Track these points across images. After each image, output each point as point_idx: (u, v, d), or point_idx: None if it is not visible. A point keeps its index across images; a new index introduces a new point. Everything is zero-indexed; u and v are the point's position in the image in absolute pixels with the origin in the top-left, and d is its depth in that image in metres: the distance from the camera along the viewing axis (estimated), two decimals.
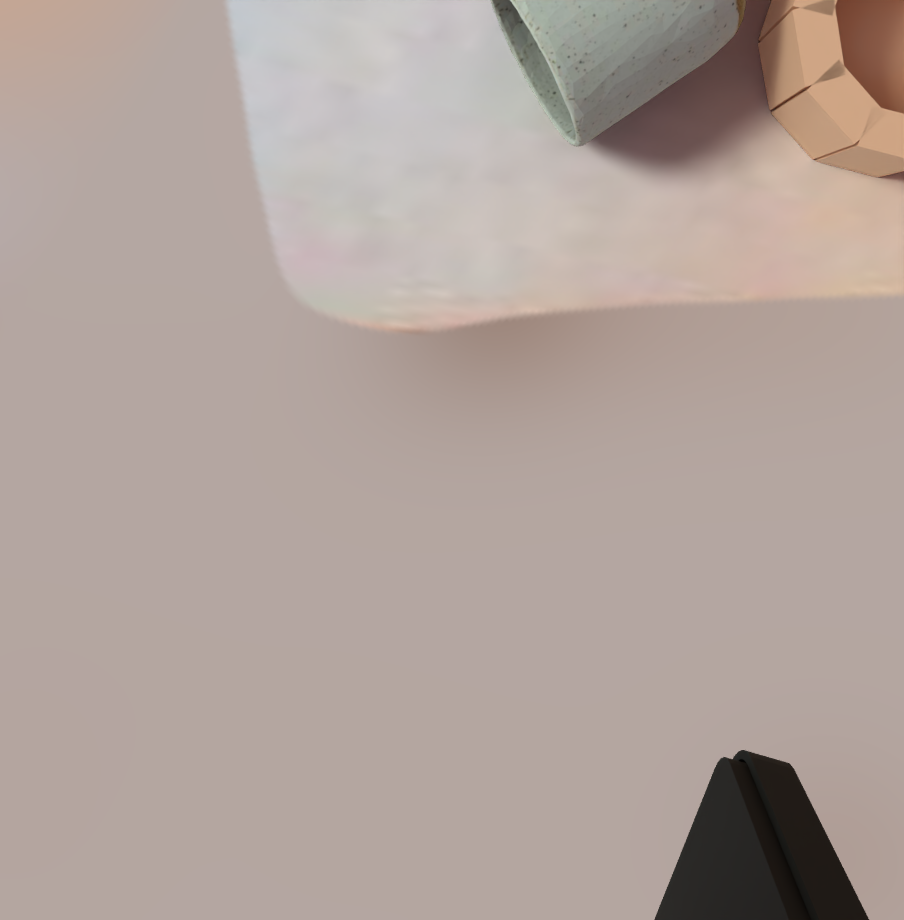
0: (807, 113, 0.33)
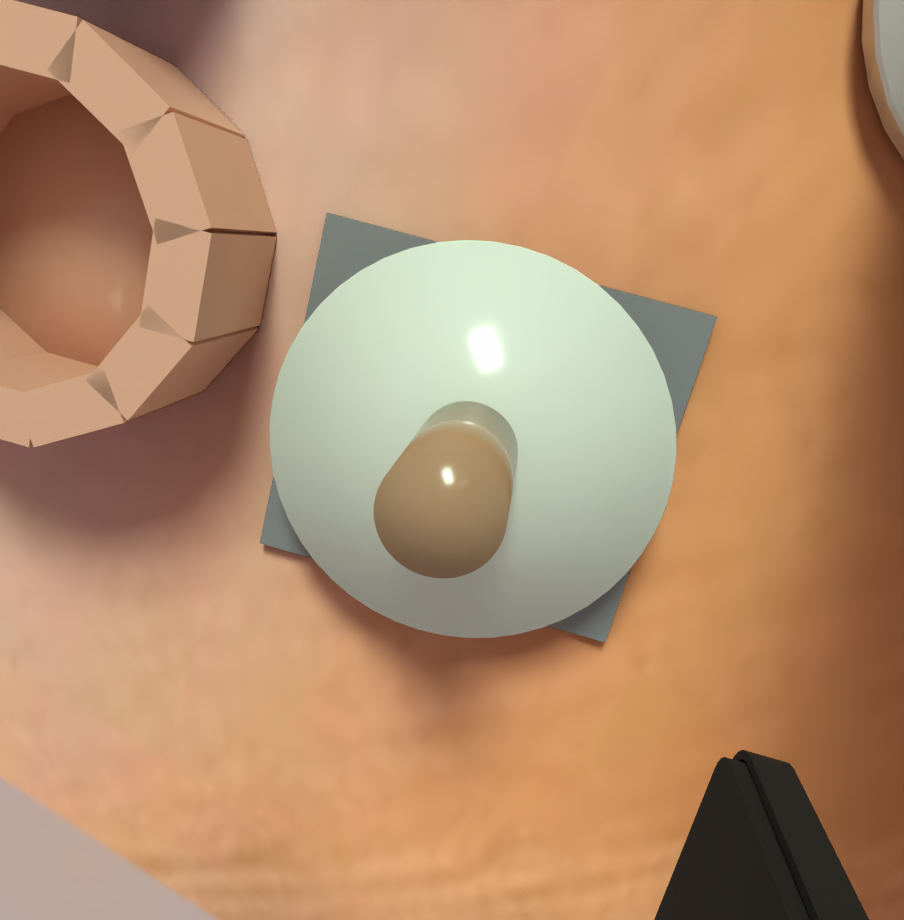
0: None
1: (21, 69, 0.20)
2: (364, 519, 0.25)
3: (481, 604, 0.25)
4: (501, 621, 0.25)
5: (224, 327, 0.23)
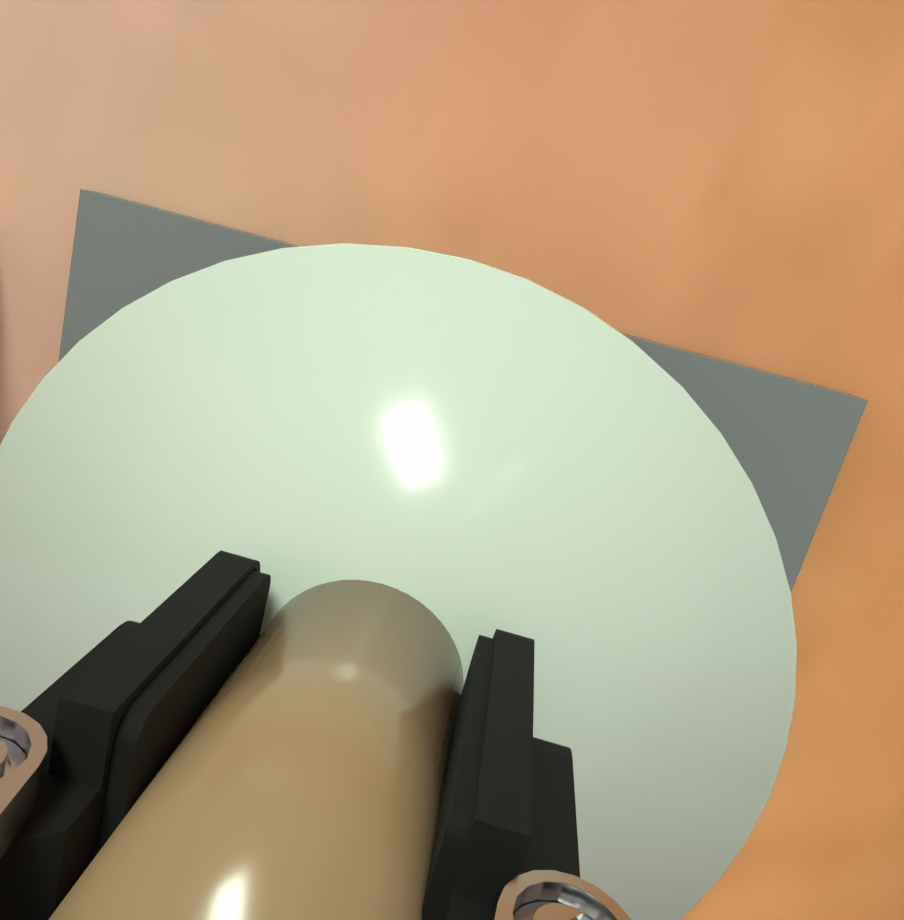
0: None
1: None
2: None
3: None
4: None
5: None
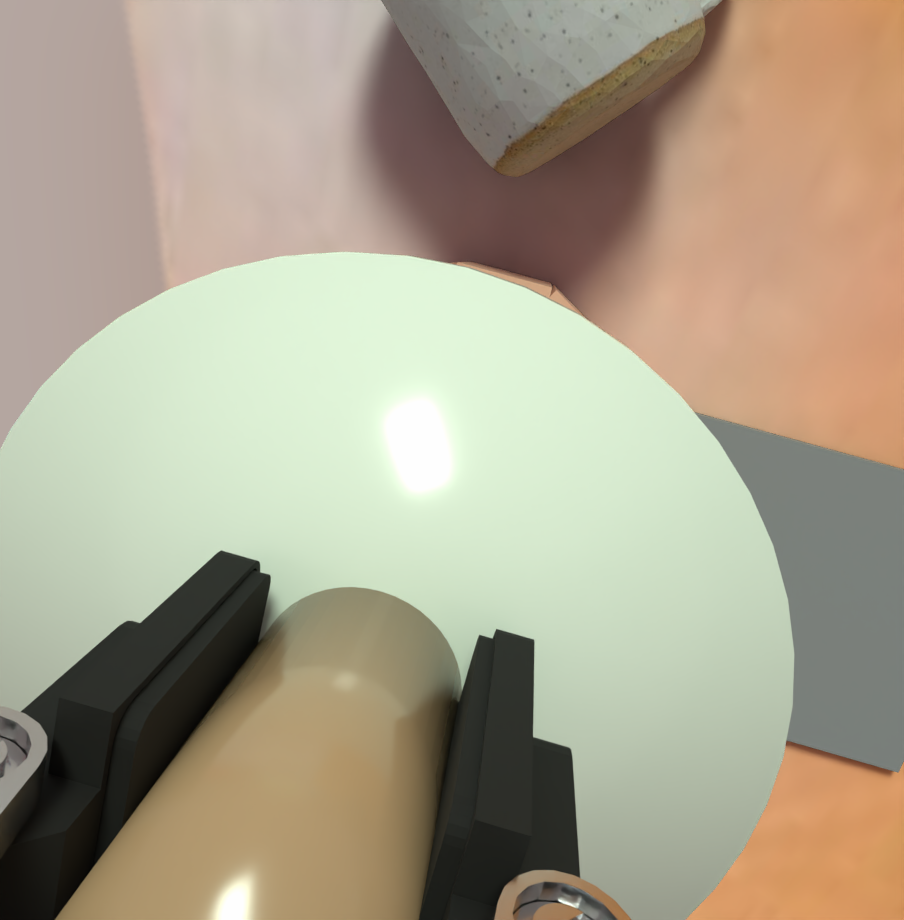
0: None
1: None
2: None
3: None
4: None
5: None
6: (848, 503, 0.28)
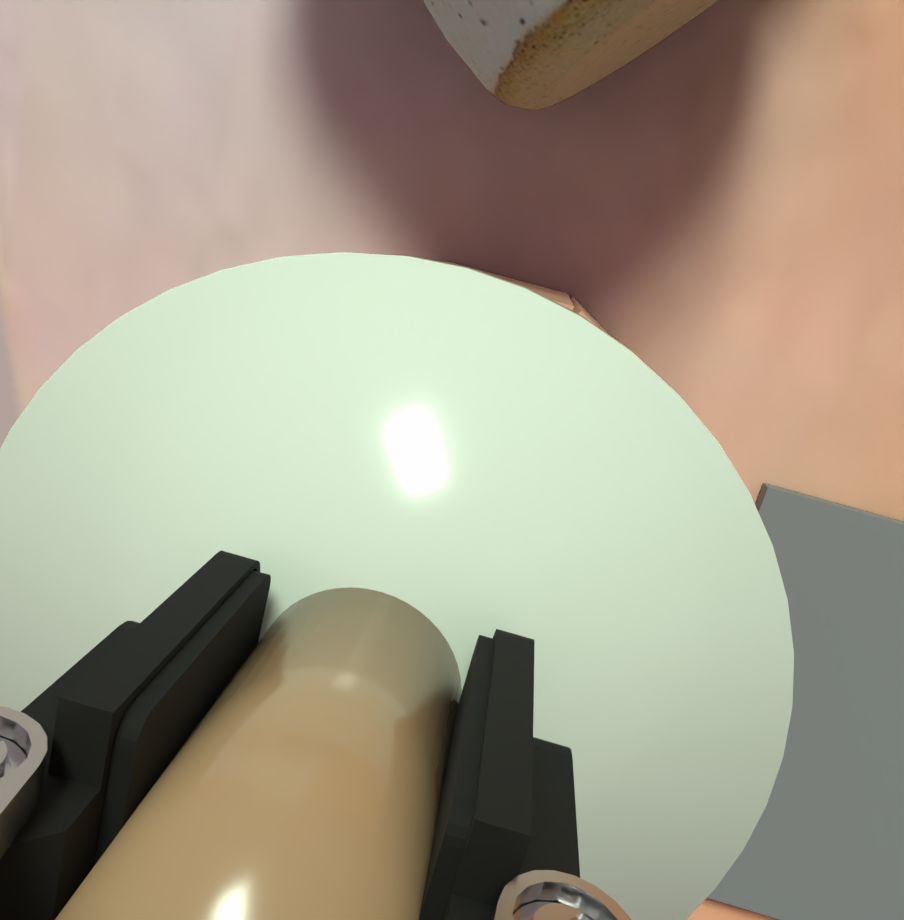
0: None
1: None
2: None
3: None
4: None
5: None
6: None
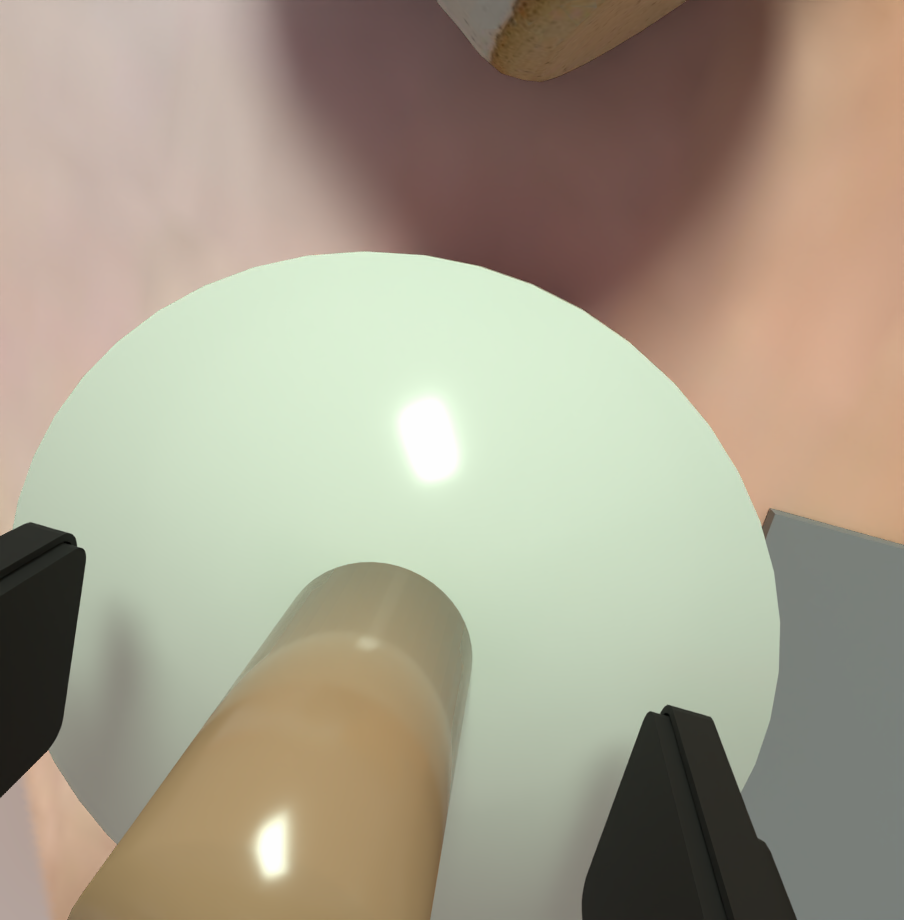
0: None
1: None
2: None
3: None
4: None
5: None
6: None
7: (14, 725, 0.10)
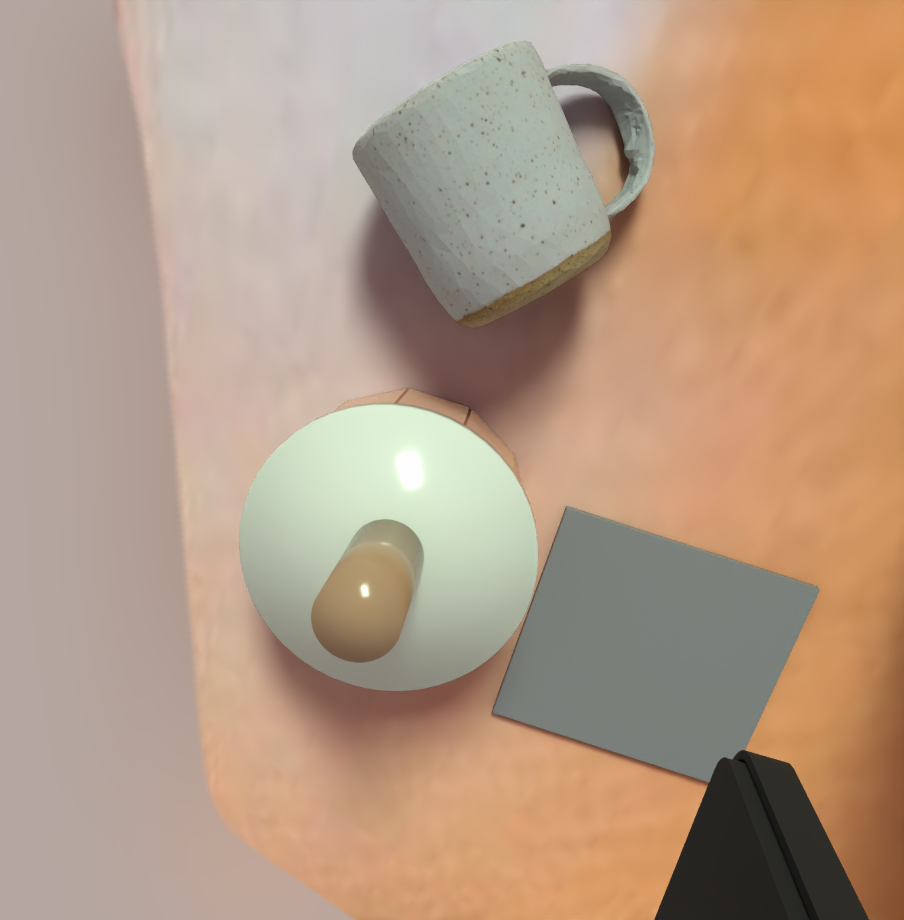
0: None
1: None
2: (308, 601, 0.33)
3: (394, 666, 0.33)
4: (408, 679, 0.33)
5: None
6: (690, 583, 0.37)
7: None
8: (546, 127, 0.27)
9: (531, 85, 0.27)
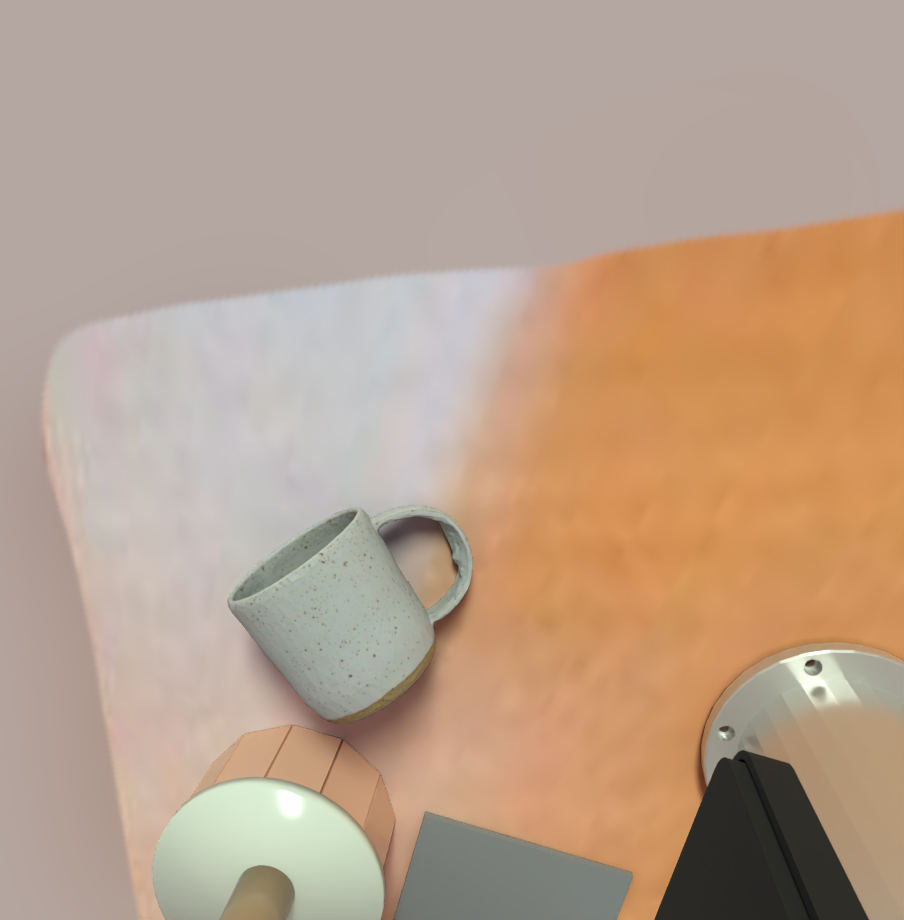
0: (210, 780, 0.42)
1: None
2: None
3: None
4: None
5: None
6: (528, 872, 0.45)
7: None
8: (366, 598, 0.36)
9: (352, 570, 0.36)
